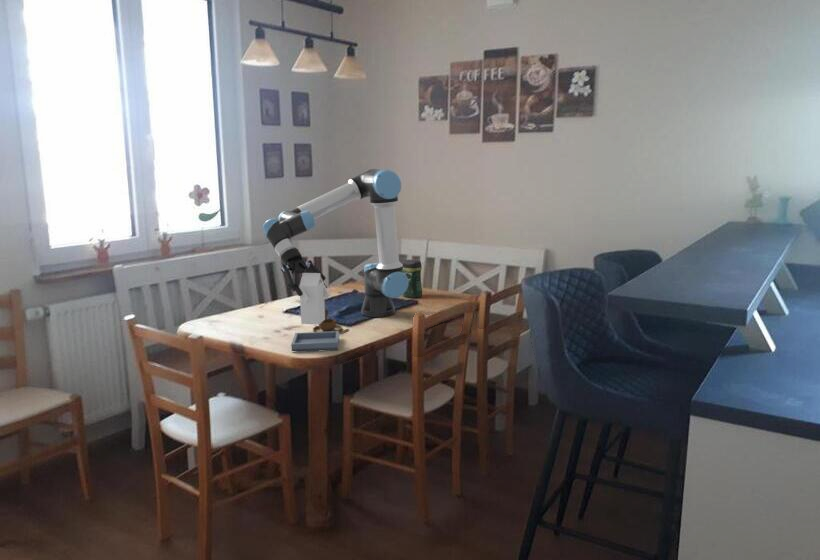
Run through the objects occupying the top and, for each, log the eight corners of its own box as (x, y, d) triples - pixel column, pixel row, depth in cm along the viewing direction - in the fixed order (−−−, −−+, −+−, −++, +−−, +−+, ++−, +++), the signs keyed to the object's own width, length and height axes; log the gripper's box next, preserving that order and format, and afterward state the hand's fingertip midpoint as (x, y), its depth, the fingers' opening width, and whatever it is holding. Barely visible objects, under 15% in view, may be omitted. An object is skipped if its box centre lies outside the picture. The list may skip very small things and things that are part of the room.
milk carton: (319, 325, 241) (317, 275, 237) (301, 324, 242) (298, 274, 239) (325, 320, 248) (323, 271, 244) (307, 319, 249) (305, 271, 245)
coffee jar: (424, 296, 325) (424, 259, 321) (415, 299, 319) (414, 262, 315) (409, 293, 331) (409, 257, 327) (400, 296, 324) (399, 260, 321)
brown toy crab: (301, 334, 264) (300, 320, 262) (323, 321, 282) (322, 308, 281) (340, 337, 258) (339, 323, 257) (360, 324, 277) (359, 311, 275)
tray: (339, 338, 255) (338, 331, 255) (337, 350, 241) (337, 342, 240) (295, 340, 254) (295, 332, 253) (291, 352, 239) (291, 344, 239)
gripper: (306, 255, 259) (335, 299, 252) (261, 263, 242) (290, 310, 235) (314, 243, 254) (344, 288, 247) (269, 250, 238) (298, 298, 231)
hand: (317, 299), depth 241 cm, fingers closed on milk carton, 9 cm apart
